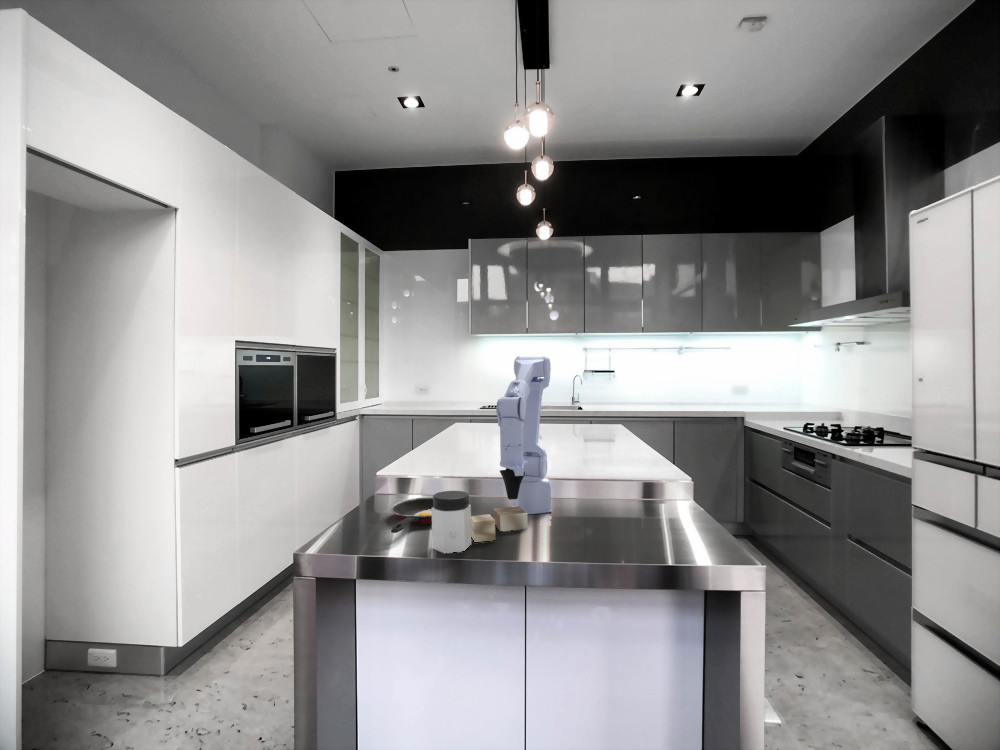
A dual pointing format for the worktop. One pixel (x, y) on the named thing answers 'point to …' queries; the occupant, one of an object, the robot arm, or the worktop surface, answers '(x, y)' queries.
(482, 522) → the maple block
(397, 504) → the frying pan
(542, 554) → the worktop surface
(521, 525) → the walnut block
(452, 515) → the jar
